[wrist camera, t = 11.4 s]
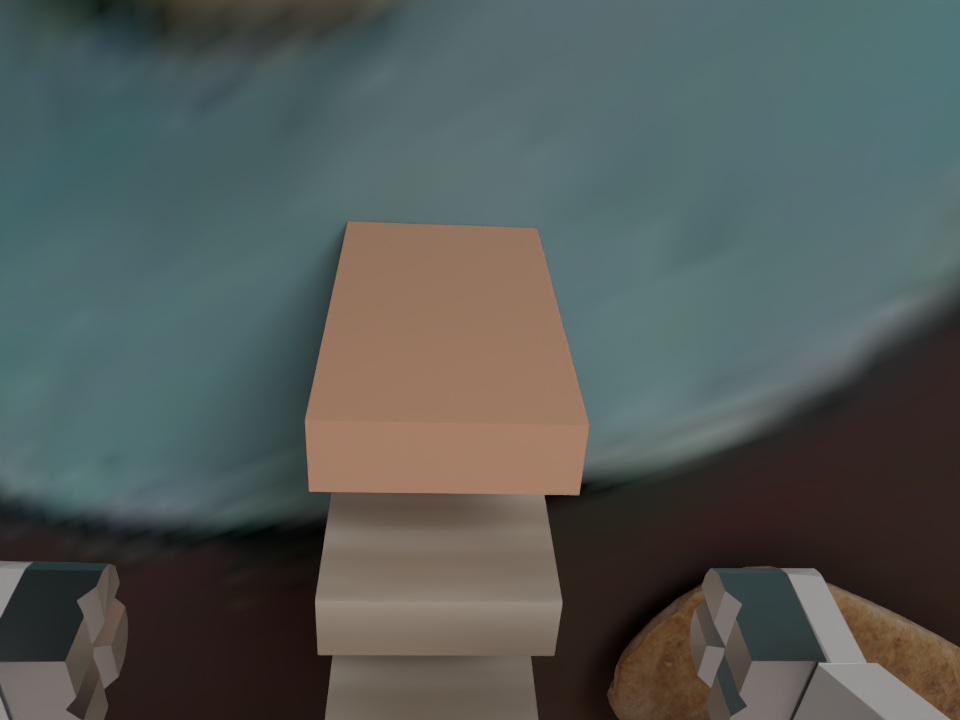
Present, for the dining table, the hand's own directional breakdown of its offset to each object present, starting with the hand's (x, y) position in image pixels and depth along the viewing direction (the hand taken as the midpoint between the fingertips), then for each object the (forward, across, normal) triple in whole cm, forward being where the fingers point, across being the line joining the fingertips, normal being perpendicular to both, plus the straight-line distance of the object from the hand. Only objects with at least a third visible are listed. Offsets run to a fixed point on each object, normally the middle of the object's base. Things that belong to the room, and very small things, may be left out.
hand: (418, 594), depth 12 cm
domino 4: (+13, -1, +5) cm, 14 cm away
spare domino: (+13, -1, +1) cm, 13 cm away
